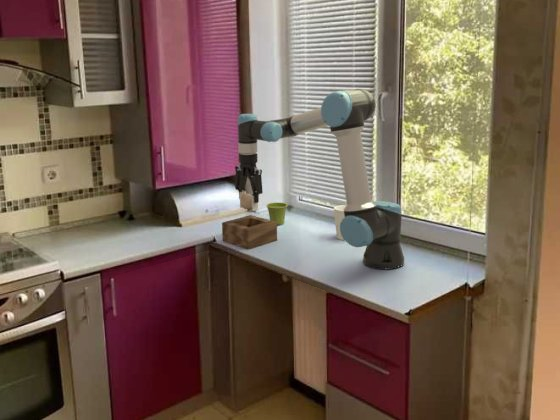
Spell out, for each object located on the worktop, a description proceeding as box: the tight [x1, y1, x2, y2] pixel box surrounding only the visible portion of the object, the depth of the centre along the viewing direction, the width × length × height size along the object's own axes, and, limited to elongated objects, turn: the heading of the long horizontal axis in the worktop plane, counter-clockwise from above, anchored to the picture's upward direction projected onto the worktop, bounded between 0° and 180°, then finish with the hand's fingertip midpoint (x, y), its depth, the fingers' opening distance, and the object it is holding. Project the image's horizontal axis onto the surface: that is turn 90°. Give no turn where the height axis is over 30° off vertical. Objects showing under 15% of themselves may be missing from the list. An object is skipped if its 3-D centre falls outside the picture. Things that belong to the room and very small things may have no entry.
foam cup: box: [333, 204, 347, 241], centre depth 269 cm, size 10×9×13 cm
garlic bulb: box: [239, 190, 252, 210], centre depth 263 cm, size 7×6×8 cm
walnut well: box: [221, 214, 278, 250], centre depth 267 cm, size 16×16×8 cm
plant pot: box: [266, 202, 288, 226], centre depth 291 cm, size 9×9×9 cm
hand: (249, 208), depth 264 cm, fingers closed on garlic bulb, 6 cm apart
